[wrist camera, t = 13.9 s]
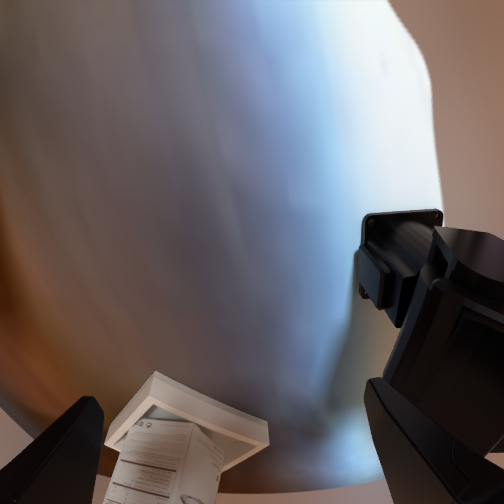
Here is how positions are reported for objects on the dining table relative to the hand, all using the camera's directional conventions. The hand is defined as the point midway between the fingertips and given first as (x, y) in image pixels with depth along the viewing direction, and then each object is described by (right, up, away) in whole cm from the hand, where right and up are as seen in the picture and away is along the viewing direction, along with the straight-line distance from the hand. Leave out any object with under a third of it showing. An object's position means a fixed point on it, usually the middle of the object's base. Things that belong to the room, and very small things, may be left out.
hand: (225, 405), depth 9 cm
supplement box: (-6, -13, +18) cm, 23 cm away
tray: (-6, -14, +20) cm, 25 cm away
